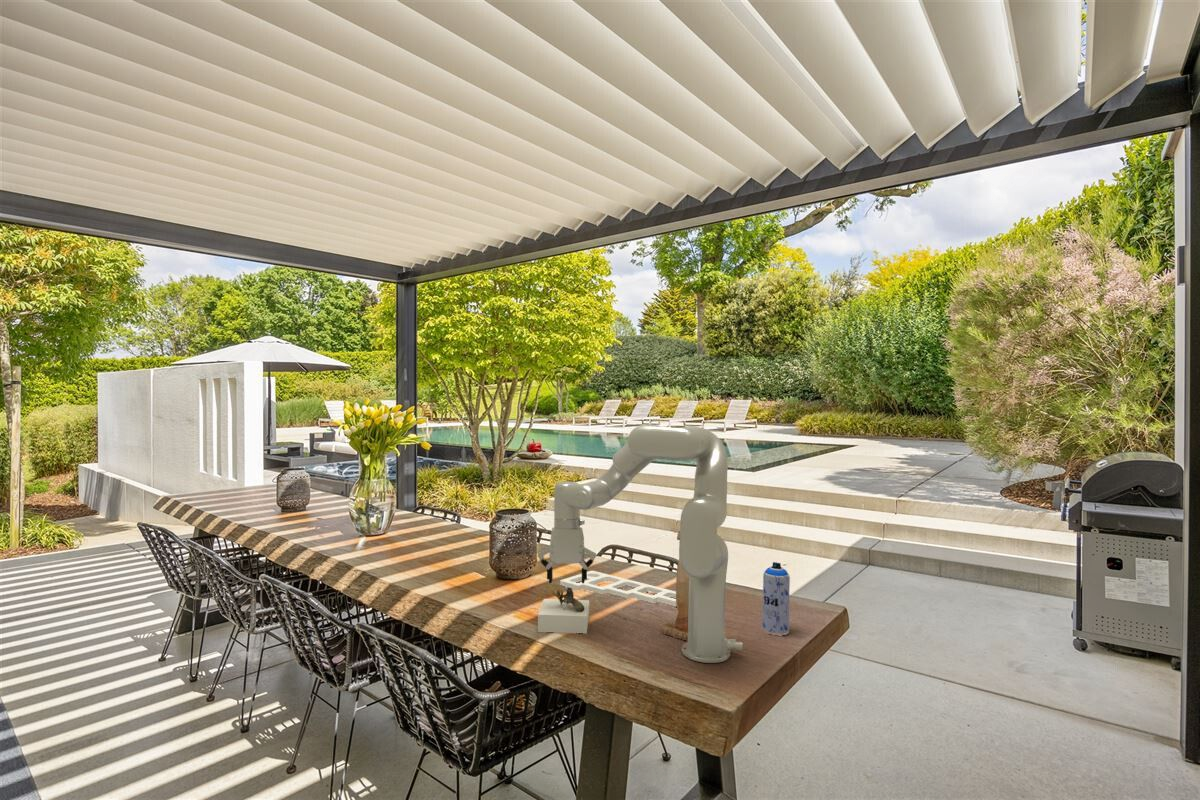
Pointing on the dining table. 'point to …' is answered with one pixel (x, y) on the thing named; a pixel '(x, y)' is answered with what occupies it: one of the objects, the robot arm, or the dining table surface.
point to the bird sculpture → (680, 605)
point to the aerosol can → (776, 599)
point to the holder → (598, 577)
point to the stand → (562, 617)
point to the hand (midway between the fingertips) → (566, 581)
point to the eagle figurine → (569, 600)
